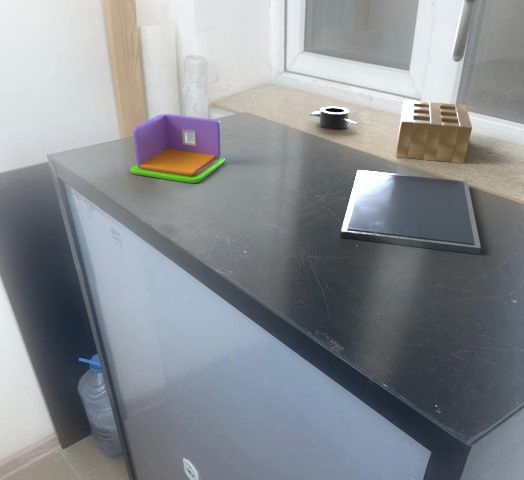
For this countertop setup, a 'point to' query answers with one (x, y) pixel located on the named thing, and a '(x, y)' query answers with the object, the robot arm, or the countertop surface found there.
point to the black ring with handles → (333, 117)
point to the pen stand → (433, 131)
